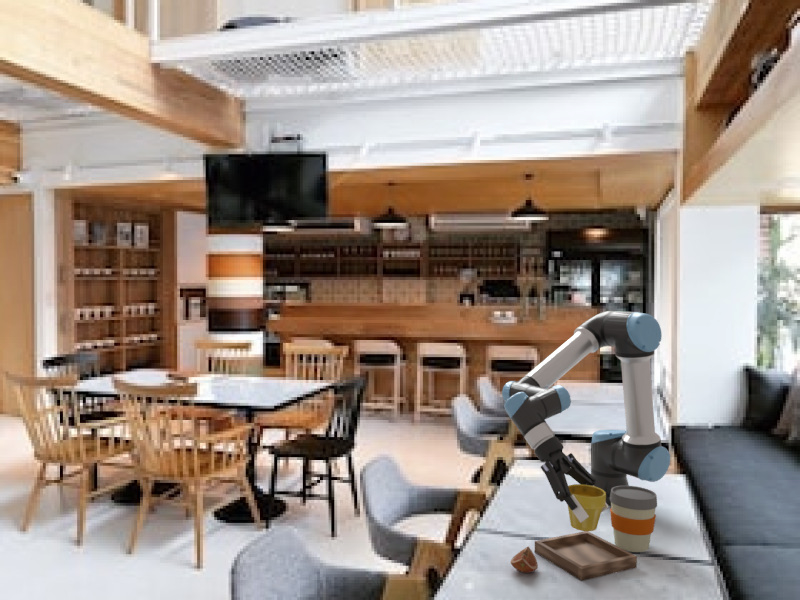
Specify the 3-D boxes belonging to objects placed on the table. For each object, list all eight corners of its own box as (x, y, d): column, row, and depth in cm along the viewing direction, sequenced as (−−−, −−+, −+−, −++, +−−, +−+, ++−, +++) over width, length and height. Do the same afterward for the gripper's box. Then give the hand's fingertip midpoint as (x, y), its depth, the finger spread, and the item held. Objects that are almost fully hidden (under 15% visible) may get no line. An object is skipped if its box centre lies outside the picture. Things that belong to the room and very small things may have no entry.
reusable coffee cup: (632, 558, 175) (634, 502, 175) (598, 540, 186) (600, 488, 186) (665, 550, 181) (667, 496, 181) (630, 533, 192) (632, 483, 192)
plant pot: (606, 536, 167) (608, 498, 167) (564, 532, 169) (566, 494, 169) (602, 521, 177) (603, 485, 177) (562, 517, 179) (564, 482, 179)
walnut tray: (586, 541, 186) (587, 530, 186) (636, 567, 169) (637, 556, 169) (534, 552, 178) (534, 541, 178) (581, 580, 161) (581, 568, 161)
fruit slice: (533, 580, 161) (534, 560, 161) (506, 575, 163) (507, 555, 163) (540, 567, 169) (540, 548, 168) (514, 562, 171) (514, 543, 171)
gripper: (556, 444, 191) (605, 511, 181) (512, 458, 175) (563, 533, 164) (574, 429, 187) (624, 497, 177) (530, 442, 171) (583, 518, 161)
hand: (595, 514), depth 171 cm, fingers closed on plant pot, 10 cm apart
